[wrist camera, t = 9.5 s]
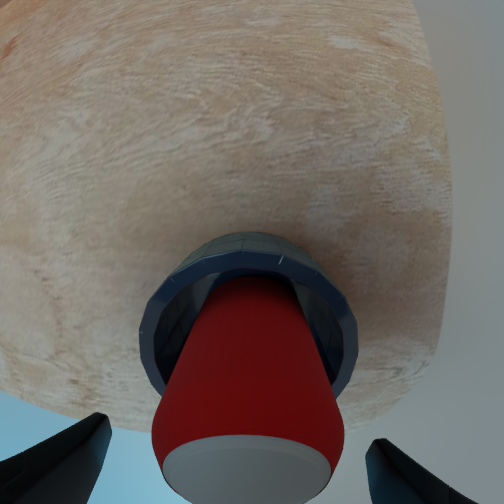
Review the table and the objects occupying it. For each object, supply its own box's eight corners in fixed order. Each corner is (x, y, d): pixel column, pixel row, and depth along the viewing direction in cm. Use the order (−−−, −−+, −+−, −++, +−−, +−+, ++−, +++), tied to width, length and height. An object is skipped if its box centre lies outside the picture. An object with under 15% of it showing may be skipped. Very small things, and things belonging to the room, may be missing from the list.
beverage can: (316, 335, 18) (375, 493, 6) (231, 372, 19) (211, 532, 7) (275, 252, 17) (313, 382, 5) (183, 297, 18) (94, 443, 6)
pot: (346, 242, 17) (381, 265, 12) (314, 385, 20) (328, 437, 14) (172, 222, 17) (137, 237, 12) (169, 370, 19) (146, 419, 14)
